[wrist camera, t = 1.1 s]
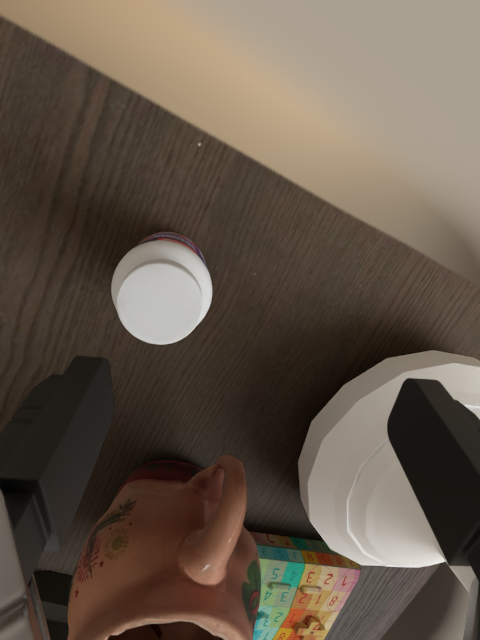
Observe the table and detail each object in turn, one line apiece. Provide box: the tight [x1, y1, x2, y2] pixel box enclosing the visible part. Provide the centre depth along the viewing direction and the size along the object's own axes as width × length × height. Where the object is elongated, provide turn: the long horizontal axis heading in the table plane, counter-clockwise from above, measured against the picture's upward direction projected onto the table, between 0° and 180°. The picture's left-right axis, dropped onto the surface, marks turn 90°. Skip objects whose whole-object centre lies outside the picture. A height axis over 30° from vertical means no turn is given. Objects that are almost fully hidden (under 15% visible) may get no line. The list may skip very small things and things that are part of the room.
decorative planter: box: [67, 455, 261, 640], centre depth 25 cm, size 20×12×14 cm, turn 158°
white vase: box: [298, 350, 480, 594], centre depth 25 cm, size 20×20×19 cm
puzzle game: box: [248, 531, 361, 640], centre depth 36 cm, size 12×5×20 cm
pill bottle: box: [111, 232, 212, 345], centre depth 21 cm, size 5×5×10 cm
